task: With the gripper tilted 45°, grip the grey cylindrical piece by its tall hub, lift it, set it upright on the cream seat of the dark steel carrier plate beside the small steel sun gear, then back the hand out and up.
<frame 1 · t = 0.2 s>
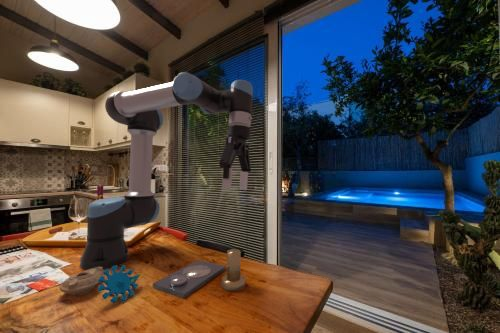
hand: (235, 189, 72), 28 cm above the table, tool pointing down, fingers open, 13 cm apart
gear: (120, 297, 59), on the table
carrier plate: (192, 277, 69), on the table
grey cylindrical piece: (233, 285, 65), on the table
pottery oil lamp: (87, 289, 62), on the table
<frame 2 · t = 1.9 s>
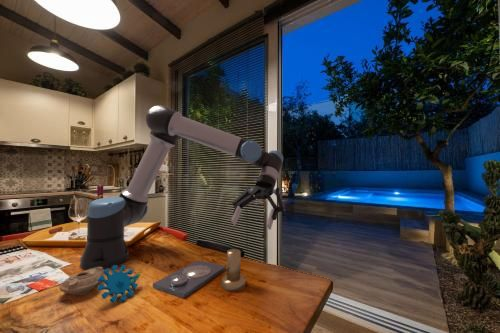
hand: (250, 225, 75), 16 cm above the table, tool tilted 45°, fingers open, 13 cm apart
nothing on the table moved.
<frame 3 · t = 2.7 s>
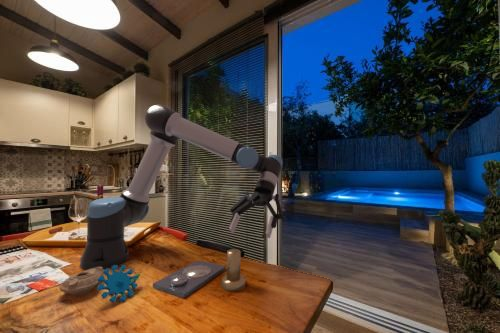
hand: (248, 233, 72), 13 cm above the table, tool tilted 45°, fingers open, 13 cm apart
nothing on the table moved.
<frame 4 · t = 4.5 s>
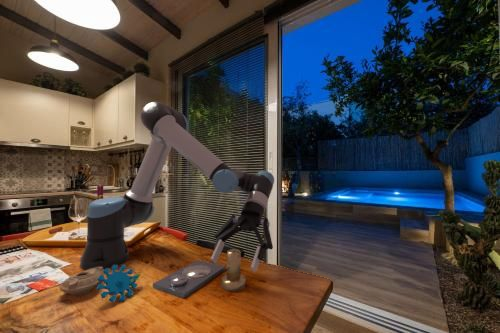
hand: (232, 265, 64), 6 cm above the table, tool tilted 45°, fingers open, 13 cm apart
nothing on the table moved.
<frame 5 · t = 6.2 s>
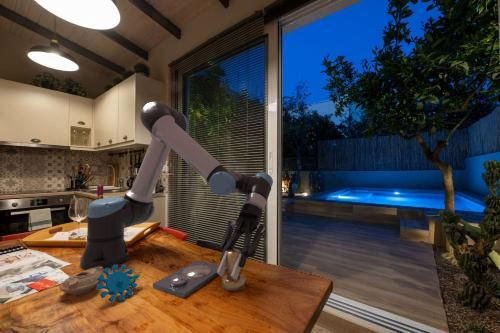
hand: (226, 275, 62), 4 cm above the table, tool tilted 45°, fingers closed on grey cylindrical piece, 4 cm apart
grey cylindrical piece: (233, 285, 65), on the table, touching gripper
everything else where it was.
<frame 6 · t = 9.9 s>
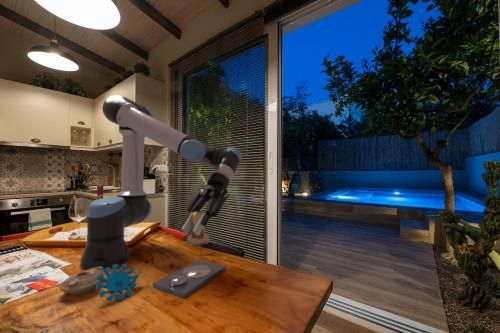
hand: (190, 232, 68), 15 cm above the table, tool tilted 45°, fingers closed on grey cylindrical piece, 4 cm apart
grey cylindrical piece: (198, 242, 72), point 10 cm above the table, touching gripper
when the fingers open (7 cm above the table, at t = 12.2 s): grey cylindrical piece drops 1 cm, resting on carrier plate.
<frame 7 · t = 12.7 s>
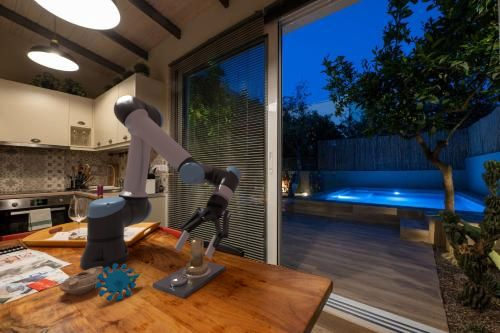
hand: (191, 253, 69), 8 cm above the table, tool tilted 45°, fingers open, 12 cm apart
grey cylindrical piece: (196, 270, 71), point 1 cm above the table, touching carrier plate
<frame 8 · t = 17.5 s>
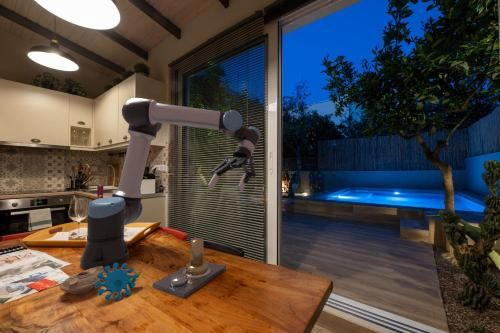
hand: (224, 188, 83), 28 cm above the table, tool tilted 45°, fingers open, 13 cm apart
at the end: grey cylindrical piece 0.0 cm from the target spot on the carrier plate, point 1.4 cm above the carrier plate's base; grey cylindrical piece tilted 0°; the gripper is holding nothing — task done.
